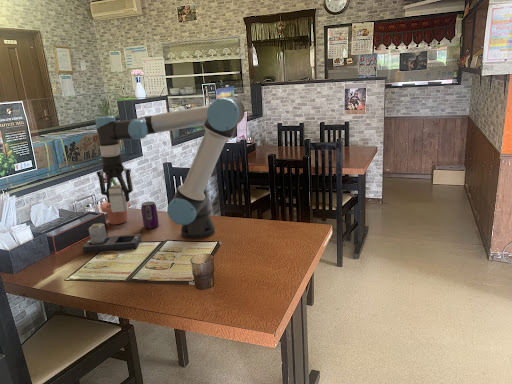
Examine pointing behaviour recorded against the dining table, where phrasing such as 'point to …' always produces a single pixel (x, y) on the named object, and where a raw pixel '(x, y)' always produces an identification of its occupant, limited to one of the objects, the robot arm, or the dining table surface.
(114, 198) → the block
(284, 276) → the dining table surface
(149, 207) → the beverage can
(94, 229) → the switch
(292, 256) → the dining table surface
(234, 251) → the dining table surface
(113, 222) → the decorative flower
